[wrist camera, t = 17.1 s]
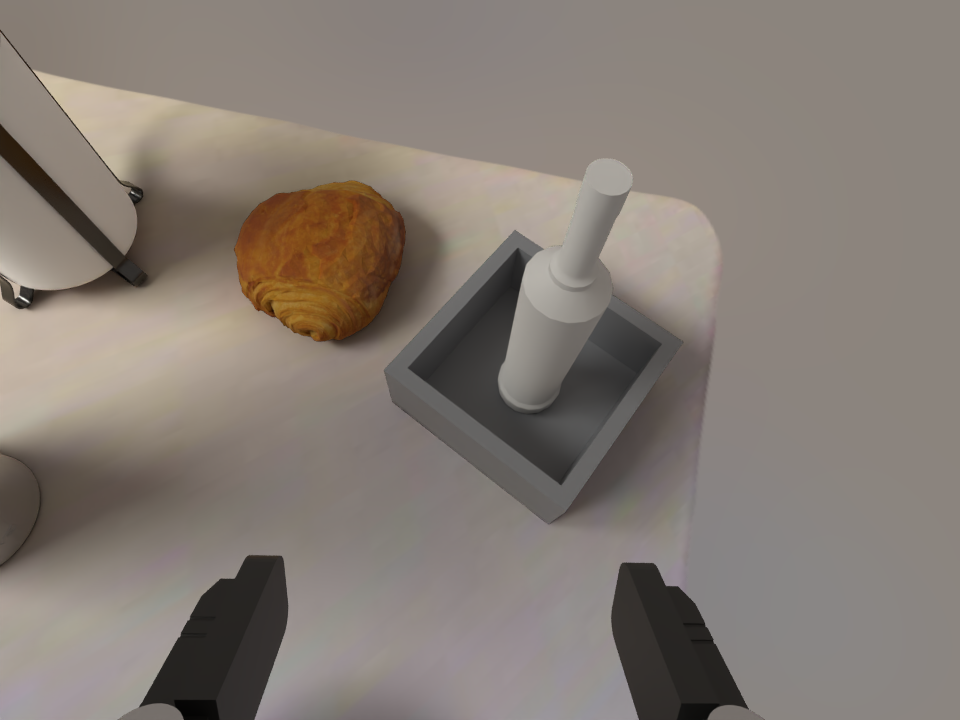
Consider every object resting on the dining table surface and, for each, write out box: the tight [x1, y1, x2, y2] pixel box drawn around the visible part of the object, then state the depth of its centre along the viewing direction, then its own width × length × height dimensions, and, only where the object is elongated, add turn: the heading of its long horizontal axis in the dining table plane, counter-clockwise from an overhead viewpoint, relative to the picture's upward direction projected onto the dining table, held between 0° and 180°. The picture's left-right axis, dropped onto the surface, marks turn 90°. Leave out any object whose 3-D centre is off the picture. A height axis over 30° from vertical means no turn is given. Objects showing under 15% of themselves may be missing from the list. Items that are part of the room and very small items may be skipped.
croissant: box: [234, 181, 406, 341], centre depth 48 cm, size 14×16×8 cm
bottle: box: [498, 158, 633, 414], centre depth 35 cm, size 5×5×25 cm
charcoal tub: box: [384, 230, 683, 524], centre depth 44 cm, size 16×16×7 cm
